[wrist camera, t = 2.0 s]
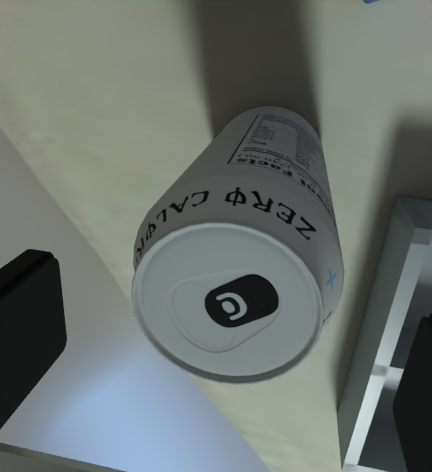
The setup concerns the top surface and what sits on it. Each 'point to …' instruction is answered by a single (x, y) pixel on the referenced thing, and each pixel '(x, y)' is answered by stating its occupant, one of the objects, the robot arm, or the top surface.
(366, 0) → the ink cartridge box
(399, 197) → the can crate
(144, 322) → the energy drink can
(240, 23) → the top surface
